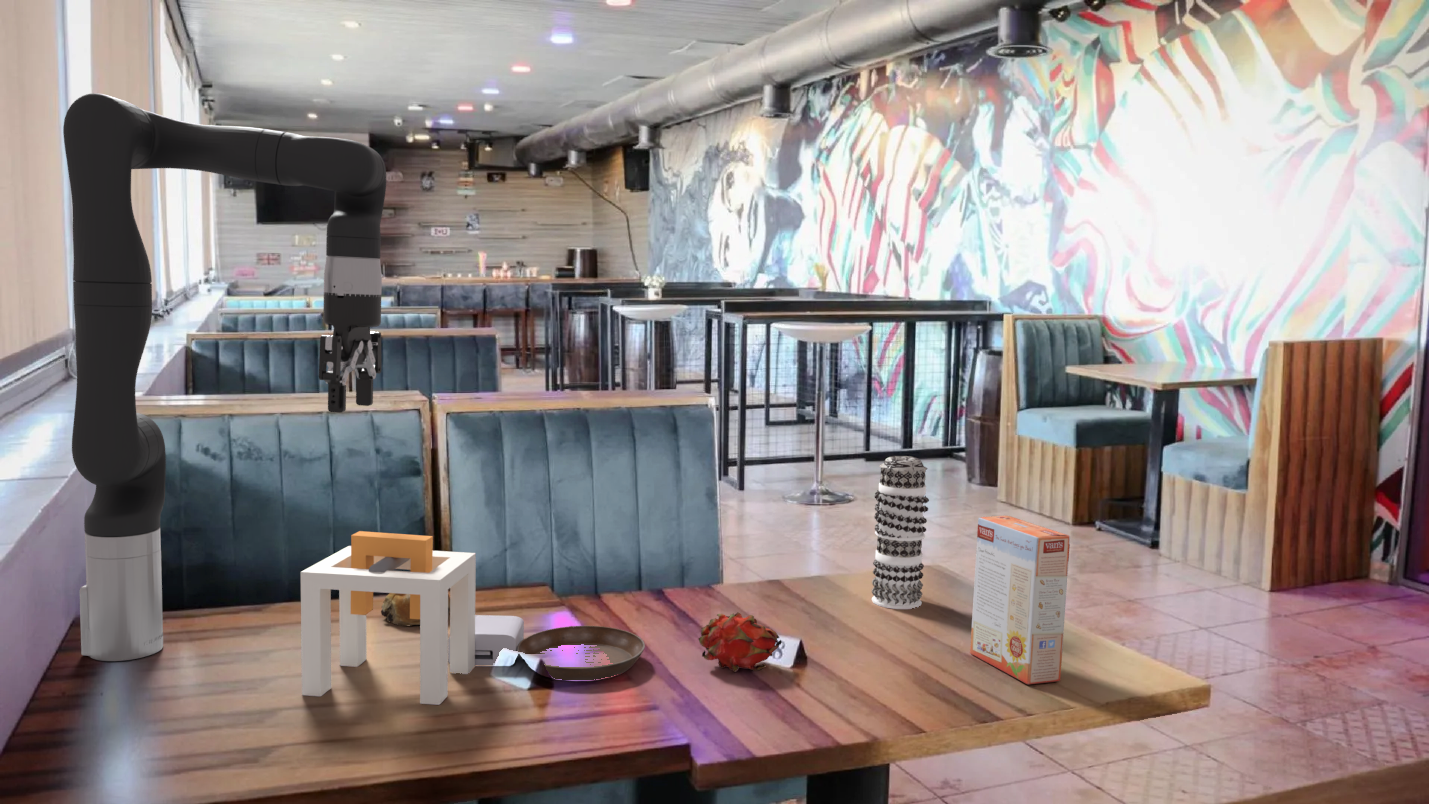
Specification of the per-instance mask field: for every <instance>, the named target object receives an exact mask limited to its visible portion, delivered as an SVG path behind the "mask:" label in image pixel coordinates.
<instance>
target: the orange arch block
mask: <svg viewBox="0 0 1429 804" xmlns="http://www.w3.org/2000/svg"><path fill="white" fill-rule="evenodd" d="M350 537H351V538H350V540H351V543H350V544H351V545H350V546H351V568H356V569H369V568H370V567H371V566H372V565H373V564H374V556H383V557H396V558H410V559H411V569H410V570H409V572H424V573H429V572H431V571H432V555H433V551H434V550H433V544H434V543H433V542H434V540H433V539H434V538H433V535H419V534H404V533H393V532H392V533H390V532H376V531H363V530H359V531H357V532H355V533H353V534H351V535H350ZM372 611H374V592H367V591H351V614H356V615H366V616H367V615H368V614H369V613H371V612H372ZM410 619H420V595H416V594H410Z"/></svg>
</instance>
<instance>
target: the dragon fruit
mask: <svg viewBox="0 0 1429 804" xmlns="http://www.w3.org/2000/svg"><path fill="white" fill-rule="evenodd" d="M716 616H717V617H718V618H716V617H715V618H711V619H710V620H709V622H708V624H706V625H705V626H704V627H702V628H701V627H700V629H701V631H700V635H701V636H700V637H698V641H699V644H700V645H701V647H703V648H705V650H706V651H707V652H706V651H705V650H703V651H702V654H701V657H703V658H704V659H705V660H706V661H714V660H717V661H718V662H717V663H718V666H719V667H720V668H721V669H724V668H726V667H727V668H728V669H729V670H730V671H731V672H732V673H734V672H735V673H736V672H738V670H739V669H750V670H751V671H760V670H762V669H763V668H765V667H766V666H767V665H766V664H759V663H762V662H765V661H767V660H768V659H769V657H773V653H774V652H775V651H776V650H777V649H779V647H780V645H781V644H782V640H781V639H780V636H779V635H778V633H777V631H776V630H773V629H771V628H768V627H767V628H766V626H765V625H762V624H758V619H756V618H755V616H754V615H753V614H749V615H748V616H747V617H743V616H742V614H741V612H736V614H735V613H734V612H732V613H731V614H729V616H727V615H726V614H724V613H717V614H716ZM778 639H780V640H778Z"/></svg>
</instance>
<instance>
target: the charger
mask: <svg viewBox="0 0 1429 804" xmlns="http://www.w3.org/2000/svg"><path fill="white" fill-rule="evenodd" d="M524 625H525V621H524V619H523V618H522V617H520V616H518V615H517V616H516V615H489V614H488V615H487V614H480V615H479V614H475V665H493V663H495V661H496V659H497V657H498V656H499V652H500V651H501V650H502V649H503V648H507V649H509V650H513V651H517V647H518V645H519V643H520V642H521V641H522V640H523V639H525V638H524V636H525V634H524V633H525V631H524V629H525V626H524ZM448 665H450V636H448Z"/></svg>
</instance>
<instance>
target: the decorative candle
mask: <svg viewBox="0 0 1429 804" xmlns="http://www.w3.org/2000/svg"><path fill="white" fill-rule="evenodd" d="M878 466H879V468H880V477H879V478H880V480H879V483H878V489H877V491H876V492H875V493H874V499H876V501H877V503H875V505H874V510H875V514H874V516H873V518H874V520H875V522H877V523H876V524H875V525H874V534H875V536H877V542H876V549H875V557H874V558H875V559H874V560H873V562H872V565H873V566H874V569H873V571H872V574H873V575H874V576H875V577H874V578H872V580H871V584H872V586H873V588H872V589H871V593H872V595H873V596H872V597H871V601H872V603H873V604H874V605H877V606H879V607H882V608H886V609H894V610H911V609H912V608H914V609H916V608H915V607H917V608H920V607H921V605H922V600H921V598H922V596H923V592H922V591H921V590H923V587H924V583H922V581H921V579H923V578H924V573H923V572H922V570H923V569H924V568H925V564H923V562H922V561H923V551H922V548H923V542H922V540H924V538H926V534H925V532H926V531H927V528H926V527H925V526H924V524H926V523H927V522H928V521H927V518H925V517H924V514H925V513H926V512H928V511H929V507H928V506H927V505H924V504H927V503H928V502H929V501H930V499H929V498H928V497H927V496H926V494H927V493H926V492H927V485H926V472H927V471H926V470H928V467H926V466H925V465H924V463H923V461H922V460H921V459H920V458H917V457H916V456H915V457H914V456H910V455H909V456H907V455H892V456H889V457H887V458H885V460H884V462H883V463H882V464H880V465H879V464H878ZM919 606H920V607H919Z"/></svg>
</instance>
